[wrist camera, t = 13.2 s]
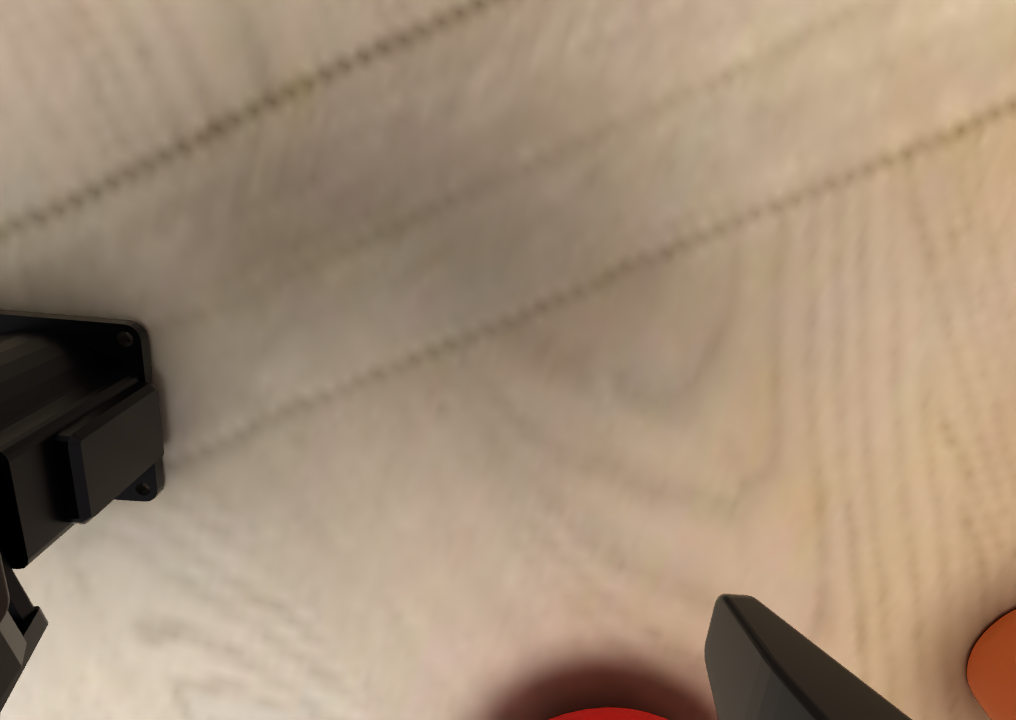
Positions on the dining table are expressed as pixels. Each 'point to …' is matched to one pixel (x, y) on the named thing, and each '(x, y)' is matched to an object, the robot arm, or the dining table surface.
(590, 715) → the tomato
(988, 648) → the cup with straw
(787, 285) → the dining table surface
